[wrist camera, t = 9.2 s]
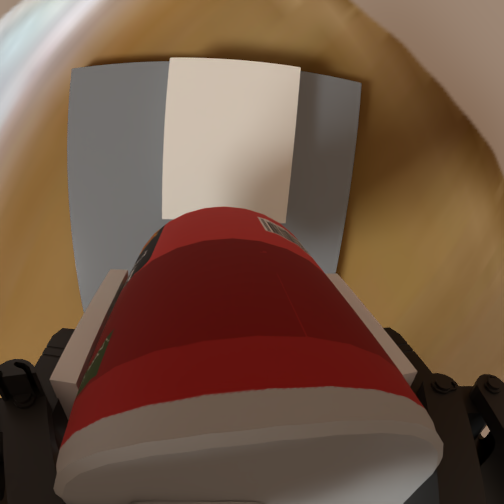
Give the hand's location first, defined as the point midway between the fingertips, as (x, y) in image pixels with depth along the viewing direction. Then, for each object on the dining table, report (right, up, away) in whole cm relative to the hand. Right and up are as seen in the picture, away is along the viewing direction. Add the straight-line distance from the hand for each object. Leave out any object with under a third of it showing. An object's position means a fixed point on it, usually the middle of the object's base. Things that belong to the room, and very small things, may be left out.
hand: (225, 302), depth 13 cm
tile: (0, +4, +5) cm, 7 cm away
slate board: (-2, +5, +7) cm, 9 cm away
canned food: (0, +1, +2) cm, 2 cm away
